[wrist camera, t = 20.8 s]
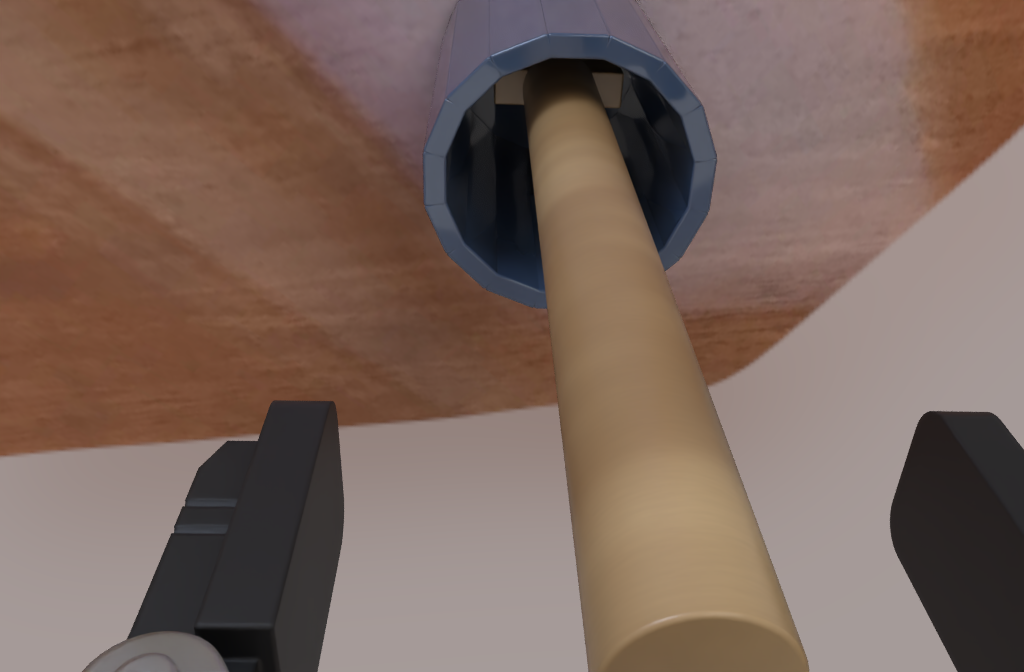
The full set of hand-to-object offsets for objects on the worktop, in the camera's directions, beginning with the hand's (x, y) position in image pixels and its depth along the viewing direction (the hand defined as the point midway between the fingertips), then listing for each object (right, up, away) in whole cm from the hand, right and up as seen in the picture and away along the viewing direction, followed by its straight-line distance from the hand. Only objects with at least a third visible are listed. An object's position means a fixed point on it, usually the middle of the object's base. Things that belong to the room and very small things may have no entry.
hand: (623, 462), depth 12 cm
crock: (0, +10, +17) cm, 19 cm away
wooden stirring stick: (0, +10, +16) cm, 19 cm away
